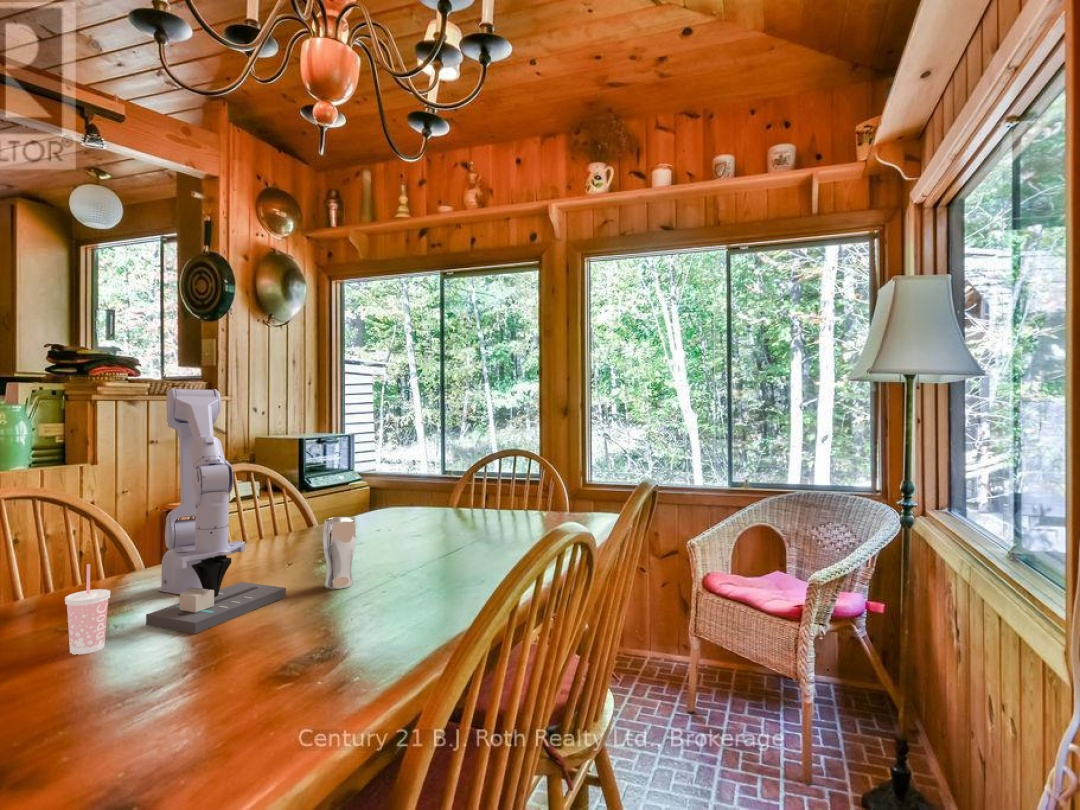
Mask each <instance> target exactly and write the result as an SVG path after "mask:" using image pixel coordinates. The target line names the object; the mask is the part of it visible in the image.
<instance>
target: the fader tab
mask: <svg viewBox="0 0 1080 810" xmlns="http://www.w3.org/2000/svg"><path fill="white" fill-rule="evenodd" d="M179 603H180V610H183V611H189V612H195V613H196V612H199V611H201V610H204V609H207V608H210V607H212V606H214V590H209V589H203V588H194V587H189V588H187V592H184V593H181V594H179Z"/></svg>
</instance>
